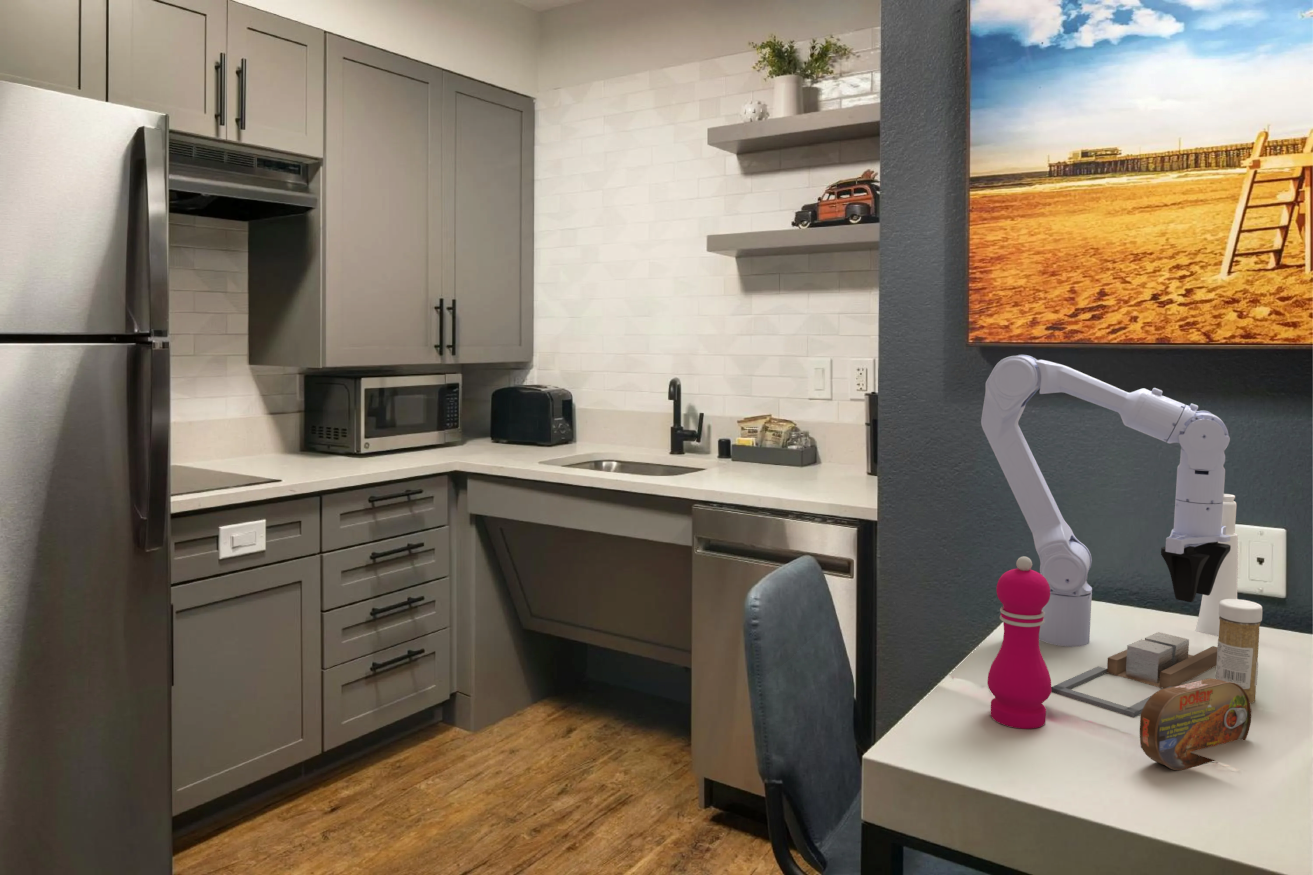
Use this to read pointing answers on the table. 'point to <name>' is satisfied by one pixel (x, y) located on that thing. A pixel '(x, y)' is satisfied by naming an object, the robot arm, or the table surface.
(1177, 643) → the grey cube
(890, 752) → the table surface
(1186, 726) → the tin
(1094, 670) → the tray
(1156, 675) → the light grey cube
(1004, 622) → the pepper mill
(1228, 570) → the cosmetic bottle
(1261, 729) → the table surface
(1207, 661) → the slot board
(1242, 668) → the sprinkles bottle
